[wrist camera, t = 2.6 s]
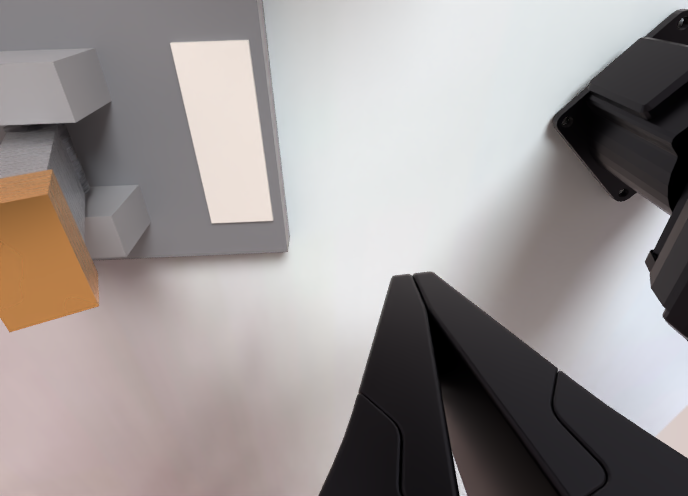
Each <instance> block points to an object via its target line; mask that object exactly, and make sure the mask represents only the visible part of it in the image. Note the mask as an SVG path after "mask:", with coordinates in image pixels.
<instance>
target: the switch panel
mask: <svg viewBox="0 0 688 496" xmlns="http://www.w3.org/2000/svg"><path fill="white" fill-rule="evenodd" d="M51 123H65V125H66V127H67V130H68V133H69V135H70V138H71V140H72V143H73V145H74V148H75V150H76V153H77V155H78V158H79V161H80V163H81V166H82V168H83V171H84V173H85V176H86V178H87V181H88V183H89V186H90V191H89V192H88V193H87V194H85V241H84V243H85V245H86V247H87V250H88V252H89V254H90V257H91V259H92V260H112V259H135V258H158V257H181V256H204V255H227V254H250V253H273V252H288V246H289V238H290V235H289V226H288V218H287V209H286V200H285V192H284V183H283V174H282V166H281V157H280V149H279V140H278V131H277V123H276V114H275V105H274V97H273V88H272V79H271V71H270V62H269V54H268V45H267V36H266V28H265V19H264V10H263V2H262V0H0V145H1V143H2V141H3V139H4V137H5V135H6V134H5V131H4V129H3V128H4V127H5V126H7V125H25V124H51Z"/></svg>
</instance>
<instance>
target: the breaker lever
mask: <svg viewBox="0 0 688 496" xmlns="http://www.w3.org/2000/svg"><path fill="white" fill-rule="evenodd" d="M3 129H4V131H5V134H6V135H5V137H4V139H3V141H2V143H1V145H0V318H1V320H2V321H3V323H4V324H5V326H6V327H7V329H8V330H9V332H12V331H16V330H19V329H22V328H26V327H29V326H33V325H36V324H40V323H43V322H46V321H50V320H53V319H57V318H60V317H64V316H67V315H70V314H74V313H77V312H81V311H84V310H87V309H91V308H94V307H98V306H99V291H98V273H97V270H96V268H95V266H94V263H93V261H92V259H91V257H90V254H89V252H88V250H87V247H86V245H85V243H84V241H85V194H87V193H88V192H89V191H90V186H89V183H88V181H87V178H86V176H85V173H84V171H83V168H82V166H81V163H80V161H79V158H78V155H77V153H76V150H75V148H74V145H73V143H72V140H71V138H70V135H69V133H68V130H67V127H66V125H65V123H51V124H25V125H7V126H5V127H4V128H3Z"/></svg>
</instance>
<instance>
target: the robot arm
mask: <svg viewBox="0 0 688 496" xmlns="http://www.w3.org/2000/svg"><path fill="white" fill-rule="evenodd" d="M682 18H683V19H684V21H683V24H682V25H681V26H680V27H679V28H678V27H677V25H678V22H679V21H680V20H681V19H682ZM566 117H569V121H568V122H567V123H566V124H564V125H562V121H563V120H564V119H565V118H566ZM553 125H554V128H555V129H556V130H557V131H558V132H559V134H560V135H561V136H562V137H563V139H564V140H565V141H566V142H567V143H568V145H569V146H570V147H571V148H572V150H573V151H574V152H575V153H576V154H577V156H578V157H579V158H580V159H581V161H582V162H583V163H584V164H585V166H586V167H587V168H588V169H589V170H590V172H591V173H592V174H593V175H594V177H595V178H596V179H597V180H598V181H599V183H600V184H601V185H602V186H603V188H604V189H605V190H606V191H607V192H608V194H609V195H610V196H611V197H612V198H614V199H615V200H616V201H620V202H621V201H625V200H627V199H629V198H630V197H631V196H633V195H634V194H635V193H637V192H638V193H639V194H641V195H642V196H643V197H645V198H646V199H648V200H649V201H650V202H652V203H653V204H655V205H656V206H657V207H659V208H660V209H662V210H663V211H665V212H666V213H667V214H669V215H670V218H669V220H668V222H667V224H666V226H665V228H664V230H663V233H662V235H661V237H660V239H659V241H658V243H657V245H656V247H655V249H654V250H651V251H650V252H649V254H648V256H647V258H646V260H645V263H646V265H647V267H648V270H649V272H650V283H651V289H652V290H653V292H654V293H655V295H656V296H657V298H658V299H659V301H660V302H661V304H662V305H663V307H664V308H665V311H664V312H663V318H664V319H665V320H666V322H667V323H668V324H669V325H670V326H671V327H672V328H673V329H674V330H676V331H677V332H678V333H679V334H680V335H682V336H683V337H684V338H685V339H686V340H687V341H688V10H687V9H680V10H677V11H675V12H674V13H672V14H671V15H670V16H669V17H667V18H666V19H665V20H664V21H663V22H662V23H660V24H659V25H658V26H657V27H656V28H655V29H654V30H652V31H651V32H650V33H649V34H648V35H647V36H645V37H644V38H640V39H638V40H637V41H636V42H635V43H634V44H633V45H632V46H630V47H629V48H628V49H627V50H626V51H625V52H624V53H622V54H621V55H620V56H619V57H618V58H617V59H615V60H614V61H613V62H612V63H611V64H610V65H609V66H607V67H606V68H605V69H604V70H603V71H602V72H601V73H599V74H598V75H597V76H596V77H595V78H594V79H592V80H591V81H590V83H589V86H588V87H587V88H586V89H584V90H583V91H582V92H581V93H580V94H579V95H577V96H576V97H575V98H574V99H573V100H572V101H571V102H569V103H568V104H567V105H566V106H565V107H564V108H562V109H561V110H560V111H559V112H558V113H557V114H556V115H555V117H554V119H553ZM622 189H624V191H623V192H622V193H620V194H619V192H620V191H621V190H622ZM557 372H558V373H557ZM358 393H359V394H358V395H357V398H356V401H355V405H354V408H353V411H352V414H351V417H350V420H349V423H348V426H347V429H346V432H345V435H344V438H343V441H342V443H341V445H340V448H339V450H338V453H337V455H336V458H335V460H334V462H333V465H332V467H331V469H330V472H329V474H328V476H327V478H326V480H325V483H324V485H323V487H322V489H321V491H320V494H319V496H460V495H459V489H458V484H457V478H456V472H455V466H454V461H453V456H454V458H455V461H456V464H457V467H458V470H459V473H460V476H461V479H462V481H463V484H464V487H465V490H466V493H467V496H688V458H686V457H685V456H683V455H682V454H680V453H679V452H677V451H676V450H674V449H672V448H671V447H669V446H668V445H666V444H665V443H663V442H662V441H660V440H658V439H657V438H655V437H654V436H652V435H651V434H649V433H648V432H646V431H645V430H643V429H642V428H640V427H639V426H637V425H636V424H634V423H633V422H631V421H630V420H628V419H627V418H625V417H624V416H622V415H621V414H619V413H618V412H616V411H615V410H613V409H612V408H610V407H609V406H608V405H606V404H605V403H603V402H602V401H601V400H599V399H598V398H597V397H595V396H594V395H593V394H591V393H590V392H588V391H587V390H586V389H584V388H583V387H582V386H580V385H579V384H578V383H576V382H575V381H574V380H572V379H571V378H570V377H569V376H567V375H566V374H565V373H563V372H562V371H558V369H557V367H555V366H554V365H553V364H551V363H550V362H549V361H548V360H546V359H545V358H544V357H542V356H541V355H540V354H538V353H537V352H536V351H535V350H533V349H532V348H531V347H529V346H528V345H527V344H525V343H524V342H523V341H522V340H520V339H519V338H518V337H516V336H515V335H514V334H512V333H511V332H510V331H509V330H507V329H506V328H505V327H503V326H502V325H501V324H500V323H498V322H497V321H496V320H494V319H493V318H492V317H490V316H489V315H488V314H487V313H485V312H484V311H483V310H481V309H480V308H479V307H477V306H476V305H475V304H474V303H472V302H471V301H470V300H468V299H467V298H466V297H464V296H463V295H462V294H461V293H459V292H458V291H457V290H455V289H454V288H453V287H451V286H450V285H449V284H448V283H446V282H445V281H444V280H442V279H441V278H440V277H438V276H437V275H436V274H435V273H433V272H421V273H414V274H413V276H412V275H410V274H404V275H395V276H393V277H392V278H391V281H390V284H389V288H388V291H387V295H386V298H385V302H384V305H383V309H382V312H381V316H380V319H379V322H378V326H377V329H376V333H375V336H374V340H373V343H372V347H371V350H370V354H369V357H368V361H367V364H366V367H365V371H364V374H363V378H362V381H361V385H360V388H359V392H358ZM452 453H453V455H452Z"/></svg>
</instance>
